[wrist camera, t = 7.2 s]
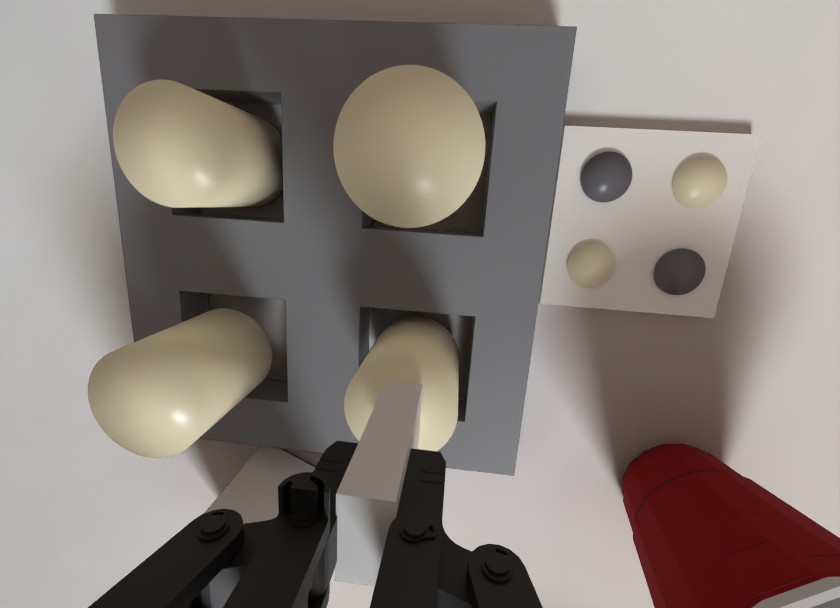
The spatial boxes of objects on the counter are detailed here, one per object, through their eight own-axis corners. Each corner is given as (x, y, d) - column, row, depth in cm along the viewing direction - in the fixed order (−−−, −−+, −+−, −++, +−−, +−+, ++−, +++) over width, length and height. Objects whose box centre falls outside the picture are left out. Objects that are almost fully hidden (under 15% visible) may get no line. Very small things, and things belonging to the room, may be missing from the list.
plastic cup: (808, 502, 24) (1145, 791, 12) (644, 582, 26) (790, 885, 14) (709, 365, 22) (980, 541, 11) (545, 463, 25) (620, 693, 13)
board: (174, 411, 26) (145, 431, 24) (135, 36, 21) (93, 14, 19) (508, 449, 25) (514, 475, 22) (562, 49, 19) (576, 26, 17)
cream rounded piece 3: (372, 391, 23) (343, 454, 17) (375, 312, 22) (344, 350, 16) (455, 400, 23) (453, 467, 17) (462, 320, 22) (463, 362, 16)
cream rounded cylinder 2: (191, 387, 22) (96, 450, 17) (183, 304, 21) (79, 342, 15) (273, 396, 22) (206, 464, 16) (271, 312, 21) (197, 354, 15)
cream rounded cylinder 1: (208, 204, 22) (120, 203, 17) (202, 111, 21) (105, 77, 16) (290, 209, 22) (229, 211, 16) (288, 115, 21) (222, 82, 15)
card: (537, 301, 22) (540, 304, 21) (562, 127, 20) (565, 124, 19) (707, 315, 21) (716, 319, 21) (752, 136, 19) (764, 133, 18)
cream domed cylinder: (371, 217, 19) (332, 222, 13) (375, 108, 18) (333, 61, 12) (472, 224, 19) (477, 233, 13) (482, 112, 17) (493, 67, 12)
